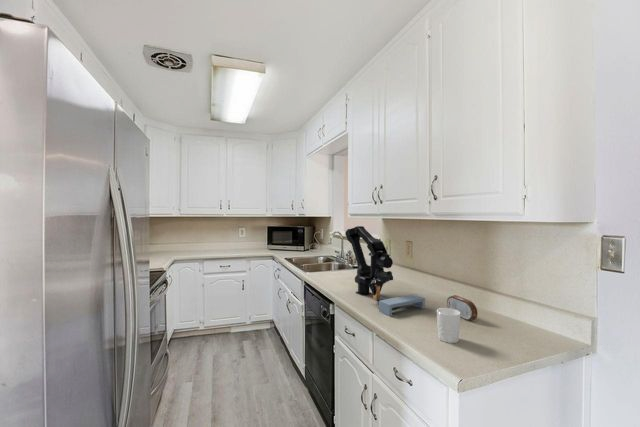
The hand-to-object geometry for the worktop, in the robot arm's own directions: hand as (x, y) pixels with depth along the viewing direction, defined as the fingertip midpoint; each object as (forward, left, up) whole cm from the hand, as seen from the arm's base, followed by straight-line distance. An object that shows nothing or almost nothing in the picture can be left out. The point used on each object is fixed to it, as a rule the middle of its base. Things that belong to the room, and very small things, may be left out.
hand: (376, 294), depth 152 cm
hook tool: (+7, -2, -2) cm, 8 cm away
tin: (+37, +16, -3) cm, 41 cm away
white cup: (+49, -8, -3) cm, 50 cm away
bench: (+18, 0, -2) cm, 19 cm away
